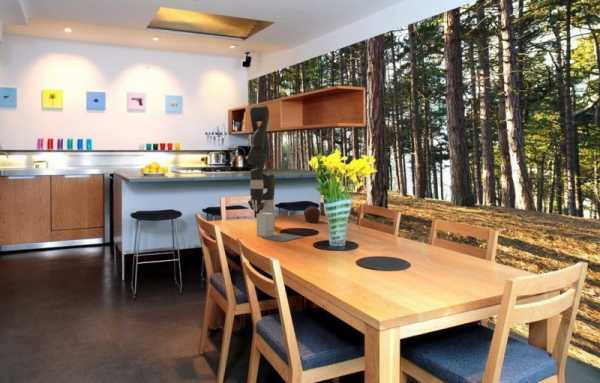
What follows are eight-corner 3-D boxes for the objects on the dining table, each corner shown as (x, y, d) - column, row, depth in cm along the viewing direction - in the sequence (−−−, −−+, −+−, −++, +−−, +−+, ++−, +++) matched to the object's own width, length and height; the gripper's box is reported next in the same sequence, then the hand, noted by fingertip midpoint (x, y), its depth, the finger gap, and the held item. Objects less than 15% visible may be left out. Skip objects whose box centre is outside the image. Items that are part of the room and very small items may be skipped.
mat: (283, 234, 280) (283, 233, 280) (303, 237, 270) (303, 236, 270) (262, 238, 267) (262, 237, 267) (283, 242, 257) (282, 241, 257)
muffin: (302, 220, 332) (302, 205, 331) (318, 220, 333) (319, 205, 332) (304, 223, 320) (305, 208, 319) (321, 222, 321) (321, 207, 320)
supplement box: (274, 235, 276) (274, 213, 275) (265, 237, 271) (265, 214, 269) (265, 233, 281) (265, 212, 280) (256, 235, 276) (256, 213, 274)
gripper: (269, 187, 276) (269, 218, 277) (253, 186, 284) (253, 215, 286) (260, 188, 270) (260, 219, 272) (244, 187, 279) (244, 217, 280)
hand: (256, 217), depth 279 cm, fingers closed
